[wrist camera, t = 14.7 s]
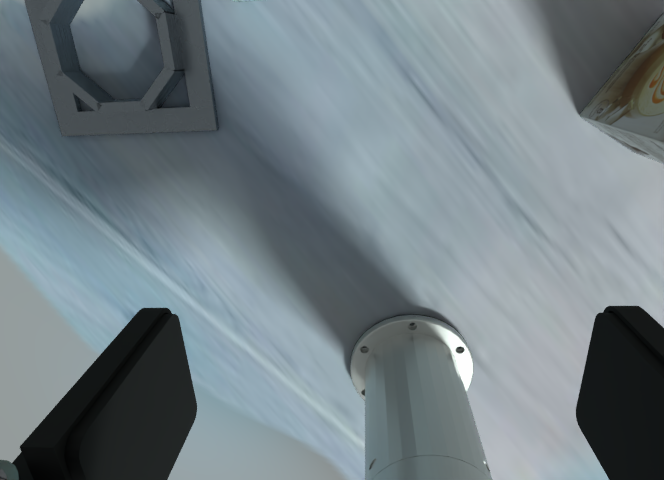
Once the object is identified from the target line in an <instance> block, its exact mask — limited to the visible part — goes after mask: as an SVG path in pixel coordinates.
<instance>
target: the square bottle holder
mask: <svg viewBox="0 0 664 480" xmlns="http://www.w3.org/2000/svg"><path fill="white" fill-rule="evenodd" d="M83 1H84V0H25V3H26V7H27V11H28V14H29V18H30V21H31V25H32V29H33V32H34V36H35V39H36V43H37V47H38V50H39V54H40V58H41V61H42V65H43V68H44V72H45V76H46V79H47V83H48V87H49V90H50V94H51V97H52V101H53V105H54V108H55V112H56V115H57V119H58V123H59V126H60V130H61V134H62V136H81V135H107V134H134V133H160V132H187V131H214V130H218V129H219V127H218V120H217V113H216V105H215V98H214V91H213V84H212V77H211V70H210V63H209V56H208V49H207V42H206V35H205V28H204V21H203V14H202V7H201V0H173V5H174V10H173V9H172V8H171V7H170V6H168V5H167V4H166V3H165V2H164V1H163V0H137V1H138V2H139V3H141V4H142V5H143V6H144V7H145V8H146V9H147V10H148V11H149V12H150V13H152V14H153V15H154V16H155V18H156V23H157V29H158V34H159V40H160V46H161V51H162V57H163V62H164V68H163V69H162V71H161V72H160V74H159V75H158V77H157V78H156V80H155V81H154V83H153V84H152V85H151V87H150V88H149V90H148V91H147V93H146V94H145V96H144V97H143V98H142V99H126V100H115V99H114V98H112V97H111V96H110V95H109V94H108V93H106V92H105V91H104V90H103V89H102V88H100V87H99V86H98V85H97V84H96V83H95V82H93V81H92V80H91V79H90V78H89V77H87V76H86V75H85V74H84V73H83V72H81V70H80V66H79V62H78V58H77V54H76V50H75V46H74V42H73V38H72V34H71V30H70V26H69V25H70V23H71V22H72V20H73V18H74V16H75V15H76V13H77V11H78V10H79V8H80V6H81V4H82V3H83ZM184 73H185V78H186V84H187V91H188V97H189V103H190V107H167V108H159V107H161V105H162V104H163V103H164V101H165V100H166V98H167V97H168V96H169V94H170V93H171V91H172V90H173V89H174V87H175V86H176V84H177V83H178V82H179V80H180V79H181V77H182V76H183V75H184ZM78 97H79V98H80V99H81V100H82V101H84V102H85V103H86V104H87V105H88V106H90V107H91V108H92V109H93V110H95V111H82V110H81V106H80V102H79V98H78Z"/></svg>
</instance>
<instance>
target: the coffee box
mask: <svg viewBox="0 0 664 480" xmlns="http://www.w3.org/2000/svg"><path fill="white" fill-rule="evenodd" d="M580 117H581V118H583V119H584V120H585V121H587V122H588V123H590V124H592V125H593V126H595V127H596V128H598V129H599V130H601V131H602V132H604V133H605V134H607V135H608V136H609V137H611V138H612V139H614V140H616V141H617V142H619V143H620V144H622V145H623V146H625V147H626V148H628V149H629V150H631V151H632V152H634V153H636V154H639V155H642V156H644V157H647V158H650V159H652V160H655V161H657V162H660V163H662V164H664V14H662V15H661V17H660V18H659V19H658V20H657V22H656V23H655V24H654V25H653V26H652V28H651V29H650V30H649V31H648V32H647V34H646V35H645V36H644V37H643V38H642V40H641V41H640V42H639V43H638V45H637V46H636V47H635V48H634V49H633V51H632V52H631V53H630V54H629V56H628V57H627V58H626V59H625V60H624V62H623V63H622V64H621V65H620V66H619V67H618V69H617V70H616V71H615V72H614V74H613V75H612V76H611V77H610V78H609V80H608V81H607V82H606V83H605V84H604V86H603V87H602V88H601V89H600V90H599V92H598V93H597V94H596V95H595V96H594V98H593V99H592V100H591V101H590V103H589V104H588V105H587V106H586V107H585V109H584V110H583V111H582V112H581V114H580Z"/></svg>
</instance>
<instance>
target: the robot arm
mask: <svg viewBox="0 0 664 480" xmlns="http://www.w3.org/2000/svg"><path fill="white" fill-rule="evenodd" d="M350 371H351V378H352V382H353V385H354V387H355V389H356V391H357V393H358V394H359V395H360V396H361V397H362V399H363V400H364V401H365V480H492V477H491V473H490V470H489V467H488V463H487V460H486V457H485V453H484V450H483V447H482V443H481V440H480V437H479V433H478V430H477V427H476V423H475V420H474V416H473V413H472V410H471V406H470V403H469V400H468V396H467V393H466V391H467V390H468V388H469V386H470V383H471V381H472V377H473V372H474V368H473V359H472V356H471V352H470V350H469V347H468V345H467V343H466V341H465V340H464V339H463V337H462V336H461V335H460V334H459V333H458V332H457V331H456V330H455V329H454V328H453V327H451V326H449V325H448V324H446V323H444V322H442V321H440V320H437V319H435V318H432V317H427V316H422V315H404V316H396V317H393V318H390V319H386V320H384V321H382V322H380V323H378V324H376V325H374V326H373V327H371V328H370V329H369V330H367V331H366V332H365V333H364V334H363V335H362V337H361V338H360V339H359V340H358V342H357V344H356V345H355V347H354V350H353V353H352V356H351V364H350ZM196 412H197V403H196V398H195V393H194V389H193V384H192V379H191V374H190V370H189V365H188V360H187V355H186V350H185V346H184V341H183V336H182V331H181V327H180V322H179V318H178V316H177V315H176V314H172V313H171V311H170V310H169V309H168V308H142V309H141V310H140V311H139V312H138V313H137V314H136V315H135V316H134V317H133V318H132V320H131V321H130V322H129V323H128V324H127V325H126V326H125V328H124V329H123V330H122V331H121V332H120V333H119V334H118V336H117V337H116V338H115V339H114V340H113V341H112V342H111V344H110V345H109V346H108V347H107V348H106V349H105V350H104V352H103V353H102V354H101V355H100V356H99V357H98V358H97V359H96V361H95V362H94V363H93V364H92V365H91V366H90V367H89V369H88V370H87V371H86V372H85V373H84V374H83V376H82V377H81V378H80V379H79V380H78V381H77V383H76V384H75V385H74V386H73V387H72V388H71V389H70V390H69V391H68V393H67V394H66V395H65V396H64V397H63V398H62V399H61V400H60V402H59V403H58V404H57V405H56V406H55V407H54V408H53V410H52V411H51V412H50V413H49V414H48V415H47V416H46V418H45V419H44V420H43V421H42V422H41V423H40V424H39V426H38V427H37V428H36V429H35V430H34V431H33V432H32V434H31V435H30V436H29V437H28V438H27V439H26V440H25V441H24V443H23V444H22V445H21V446H20V448H21V451H22V452H21V453H20V455H19V456H18V457H17V458H16V459H15V460H14V462H13V463H11V462H9V461H6V460H0V480H167V479H168V477H169V474H170V472H171V470H172V468H173V466H174V464H175V461H176V459H177V457H178V455H179V453H180V451H181V449H182V447H183V444H184V442H185V440H186V438H187V436H188V433H189V431H190V429H191V427H192V425H193V423H194V420H195V418H196ZM576 418H577V422H578V425H579V427H580V429H581V431H582V432H583V434H584V436H585V438H586V439H587V441H588V443H589V445H590V446H591V448H592V450H593V452H594V453H595V455H596V457H597V459H598V460H599V462H600V464H601V466H602V467H603V469H604V471H605V473H606V474H607V476H608V478H609V480H664V328H663V327H662V326H661V325H660V324H659V323H658V322H657V321H655V320H654V319H653V318H652V317H651V316H650V315H649V314H648V313H647V312H646V311H645V310H643V309H642V308H641V307H639V306H608V307H606V309H605V310H604V312H603V313H599V314H597V316H596V318H595V322H594V327H593V331H592V336H591V341H590V345H589V350H588V355H587V360H586V364H585V369H584V374H583V379H582V383H581V388H580V393H579V397H578V402H577V407H576Z"/></svg>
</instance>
